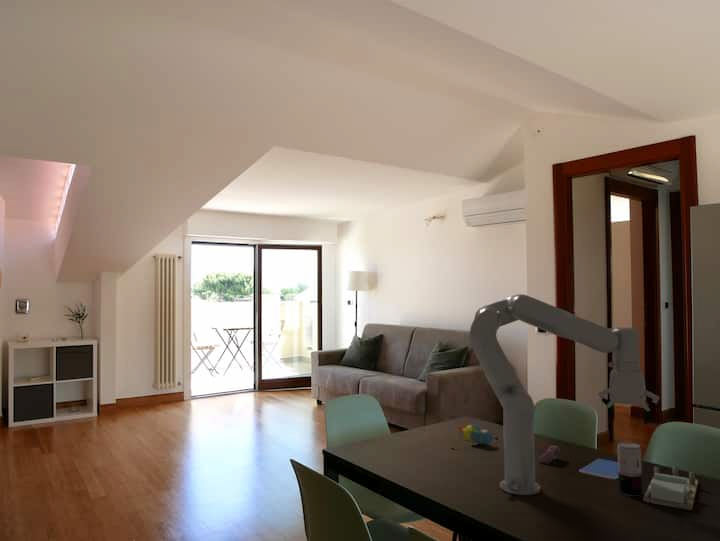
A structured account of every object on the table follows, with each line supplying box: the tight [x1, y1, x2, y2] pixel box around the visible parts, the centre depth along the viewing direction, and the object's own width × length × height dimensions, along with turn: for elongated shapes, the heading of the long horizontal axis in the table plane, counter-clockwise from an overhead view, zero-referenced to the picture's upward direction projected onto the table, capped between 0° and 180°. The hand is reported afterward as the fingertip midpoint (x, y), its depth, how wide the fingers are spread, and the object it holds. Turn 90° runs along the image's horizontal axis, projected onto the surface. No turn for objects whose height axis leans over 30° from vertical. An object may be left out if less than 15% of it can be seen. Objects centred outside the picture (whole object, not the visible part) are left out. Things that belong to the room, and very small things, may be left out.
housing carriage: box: [651, 473, 687, 504], centre depth 164 cm, size 10×8×5 cm
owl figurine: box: [457, 423, 494, 445], centre depth 228 cm, size 28×9×15 cm
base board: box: [642, 465, 699, 511], centre depth 170 cm, size 27×12×5 cm, turn 145°
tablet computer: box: [578, 458, 619, 481], centre depth 193 cm, size 19×13×1 cm, turn 136°
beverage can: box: [617, 441, 643, 497], centre depth 169 cm, size 7×7×15 cm
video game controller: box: [537, 444, 561, 464], centre depth 203 cm, size 10×5×7 cm, turn 143°
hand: (629, 421), depth 170 cm, fingers open, 9 cm apart
